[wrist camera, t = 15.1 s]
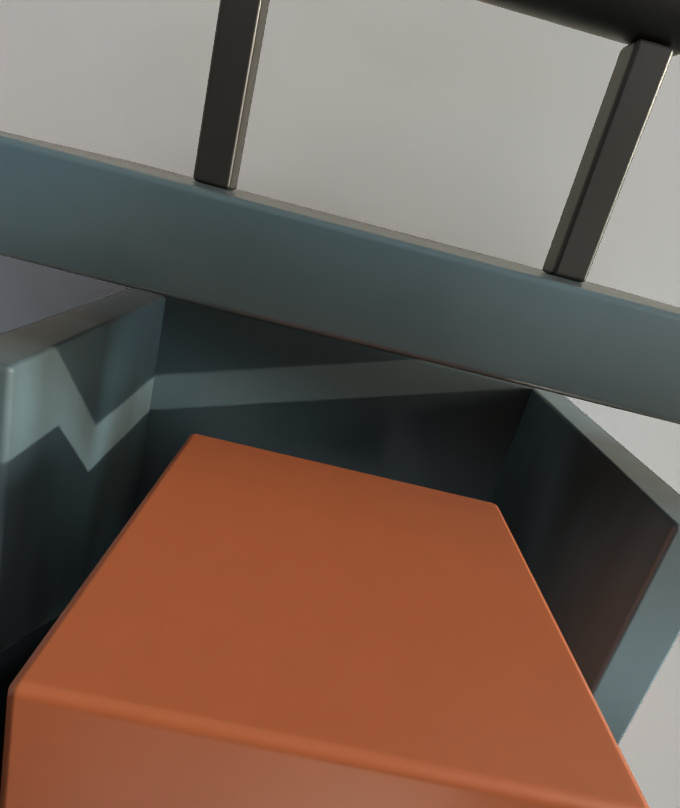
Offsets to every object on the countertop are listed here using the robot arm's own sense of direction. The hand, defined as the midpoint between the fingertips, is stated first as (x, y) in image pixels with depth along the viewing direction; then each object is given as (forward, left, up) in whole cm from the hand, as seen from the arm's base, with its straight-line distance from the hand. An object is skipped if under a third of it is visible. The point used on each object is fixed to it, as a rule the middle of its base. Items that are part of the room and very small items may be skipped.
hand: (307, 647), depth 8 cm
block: (0, 0, -1) cm, 1 cm away
